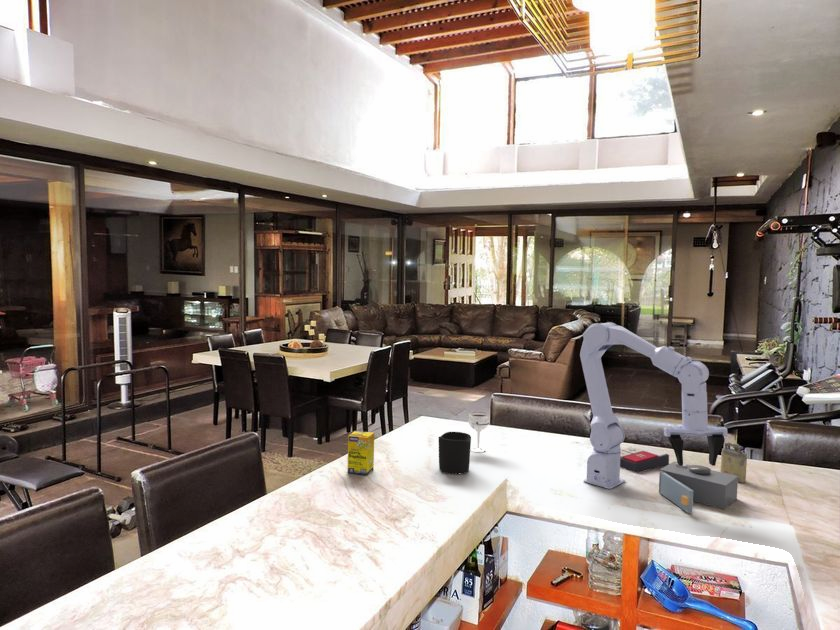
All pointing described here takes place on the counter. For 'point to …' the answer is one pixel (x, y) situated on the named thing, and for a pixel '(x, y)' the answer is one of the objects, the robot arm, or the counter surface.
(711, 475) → the camera case
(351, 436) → the supplement box
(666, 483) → the side door
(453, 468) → the pen holder
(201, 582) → the counter surface
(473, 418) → the wineglass
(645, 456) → the calculator
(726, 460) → the lighter
